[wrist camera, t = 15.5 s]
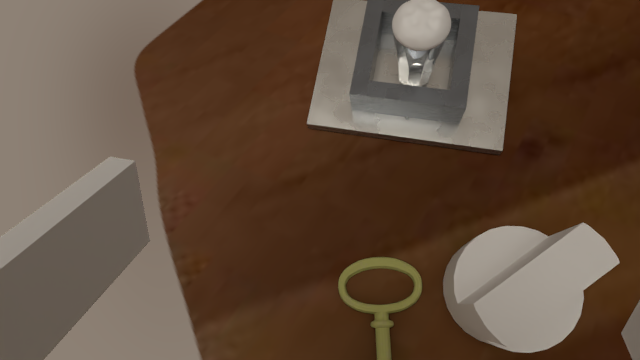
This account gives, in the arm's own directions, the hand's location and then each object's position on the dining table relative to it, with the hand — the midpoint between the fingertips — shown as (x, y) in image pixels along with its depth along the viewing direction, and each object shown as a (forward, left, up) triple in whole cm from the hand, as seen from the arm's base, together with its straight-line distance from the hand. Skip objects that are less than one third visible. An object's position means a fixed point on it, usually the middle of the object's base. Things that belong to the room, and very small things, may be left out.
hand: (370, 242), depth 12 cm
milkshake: (0, -21, -29) cm, 35 cm away
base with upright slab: (-10, -2, -30) cm, 32 cm away
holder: (0, -21, -30) cm, 36 cm away
